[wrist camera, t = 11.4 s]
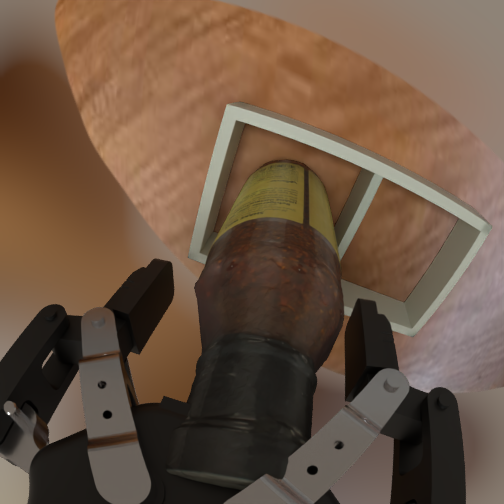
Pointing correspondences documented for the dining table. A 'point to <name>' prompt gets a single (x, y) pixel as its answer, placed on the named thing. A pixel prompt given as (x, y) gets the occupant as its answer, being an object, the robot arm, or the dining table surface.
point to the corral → (350, 212)
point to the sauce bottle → (261, 330)
